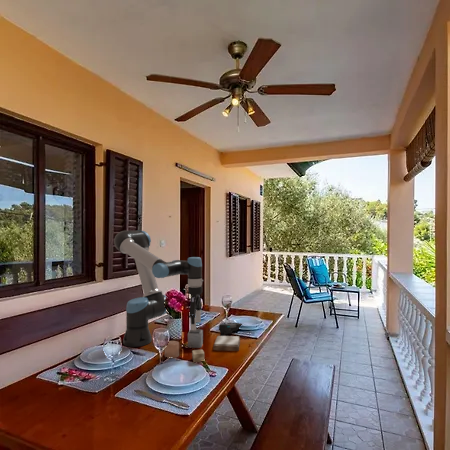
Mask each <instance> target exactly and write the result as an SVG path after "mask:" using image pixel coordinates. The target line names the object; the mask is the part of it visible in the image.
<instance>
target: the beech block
mask: <svg viewBox="0 0 450 450" xmlns="http://www.w3.org/2000/svg"><path fill="white" fill-rule="evenodd" d="M191 359H192V361H193V363H194V362H197V363H201V362H200V361H201V360H204V361H205V351H204V350H203V348H200V349H194V350H191Z"/></svg>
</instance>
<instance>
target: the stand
mask: <svg viewBox="0 0 450 450" xmlns="http://www.w3.org/2000/svg"><path fill="white" fill-rule="evenodd" d="M240 346H241V337H240V336H239V335H238V336H237V335H236V336H234V335H224V336H220V335H217V337H216V338H215V340H214V343H213V349H212V350H213V351H229V352H230V351H231V352H233V351H235V352H239V351H240Z"/></svg>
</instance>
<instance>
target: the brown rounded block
mask: <svg viewBox="0 0 450 450" xmlns="http://www.w3.org/2000/svg"><path fill="white" fill-rule="evenodd" d="M168 341H169V343H168V345H167V347H166V348H165V347H164V357H165V358H166V357H167V358H166V359H170V358H169V357H173V358H172V359H175V358H179V356H180V342H179V341H177V340H168Z"/></svg>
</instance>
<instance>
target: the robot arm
mask: <svg viewBox="0 0 450 450" xmlns="http://www.w3.org/2000/svg"><path fill="white" fill-rule="evenodd" d="M151 243H152V239H151V236H150V235H149V233H148V232H146V231H144V230H139V229H137V230H122V231H120V232H118V233H117V234H115V236H114V239H113V245H114V247H115V249H116V250H118V252H120V253H121V254H126V255H128V256H129V257H131V258H132V259H133V260H134V262H135V266H136V269H137V274H138V276H139V281H140V283H141V288H142V291H143V295H142V296H139V297H136V298H135V297H134V298H132V299H130V300H128V301H127V303H126V309H125V312H126V315H125V316H126V321H125V322H126V326H125V327H126V329H125V333H124V335H123V340H122V345H124V347H125V346H126V347H129V348H136V347H137V348H139V347H144V346H146V345H149V344H150V343H151V342H152V340H153V339H152V334H151V332H150V328H149V320H152V319H155V318H158V317H161V316H163V315H165V314H167V312H166V308H165V307H164V306H165V305H164V302H165V299H166V297H167V295H165V294H163V291H162V290H160V289H159V287H158V283H157V280H156V279H164V278H169V277H173V276H178V275H187V286H188V287H187V292H188V293H187V294H189V295H190V296H192V297H190V303H189V304H190V306H189V314H188V318H189V321H190V330H196V329H197V323H202V316H201V315H202V311H203V307H202V302H201V294H203V282H204V279H203V272H202V271H203V263H202V258H201V257H199V256H191V257H188V258H187V260H180V259H175V260H172V261H165V260H164V259H161V258H159V257H158V256H157V255H155V254H154V253H152V252H151V251H150V247H151ZM201 310H202V311H201Z"/></svg>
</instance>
